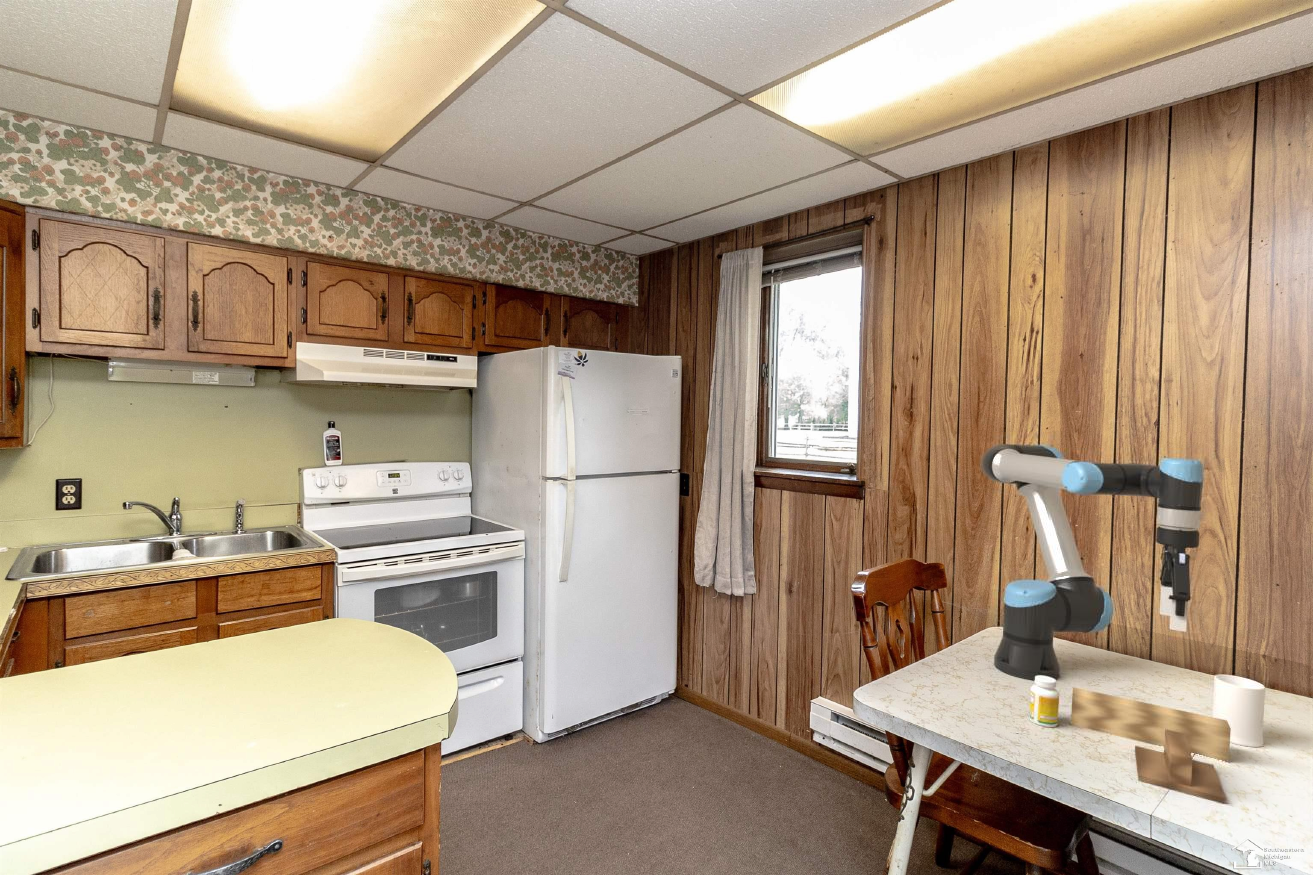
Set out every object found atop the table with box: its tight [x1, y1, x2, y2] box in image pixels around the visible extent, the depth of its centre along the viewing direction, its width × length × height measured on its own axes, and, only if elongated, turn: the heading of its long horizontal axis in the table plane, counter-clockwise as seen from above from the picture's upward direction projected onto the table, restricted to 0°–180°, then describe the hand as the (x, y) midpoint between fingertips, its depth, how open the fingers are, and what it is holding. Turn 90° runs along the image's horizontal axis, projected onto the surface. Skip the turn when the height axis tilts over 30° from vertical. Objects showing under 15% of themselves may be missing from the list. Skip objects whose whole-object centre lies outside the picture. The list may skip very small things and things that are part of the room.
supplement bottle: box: [1028, 675, 1060, 728], centre depth 142 cm, size 5×5×10 cm
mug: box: [1211, 674, 1266, 748], centre depth 140 cm, size 12×8×12 cm
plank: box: [1070, 686, 1231, 763], centre depth 136 cm, size 26×4×7 cm, turn 56°
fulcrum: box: [1134, 729, 1226, 805], centre depth 122 cm, size 12×14×6 cm
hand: (1172, 622), depth 146 cm, fingers open, 13 cm apart
